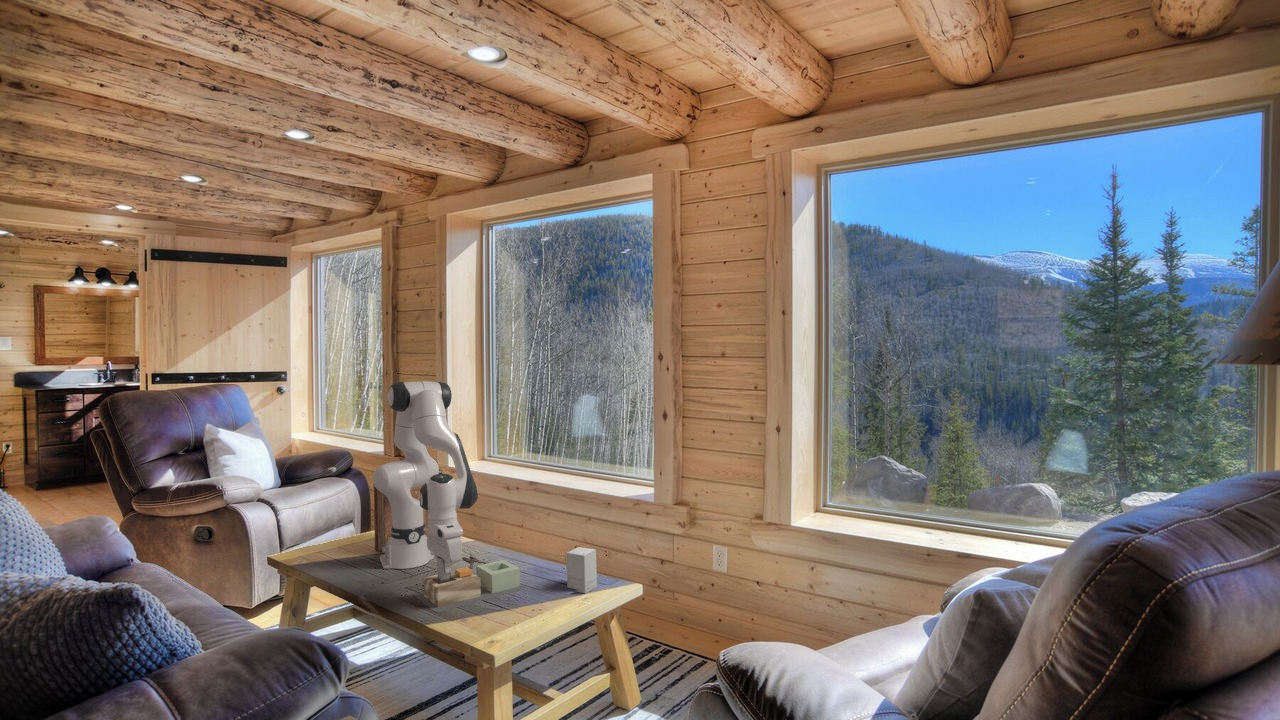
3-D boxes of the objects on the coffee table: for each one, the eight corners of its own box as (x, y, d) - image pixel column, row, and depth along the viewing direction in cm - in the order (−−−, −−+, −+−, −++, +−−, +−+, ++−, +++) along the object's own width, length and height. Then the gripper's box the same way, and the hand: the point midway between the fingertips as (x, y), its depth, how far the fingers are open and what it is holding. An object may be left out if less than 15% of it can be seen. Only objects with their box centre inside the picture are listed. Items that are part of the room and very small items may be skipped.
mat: (414, 597, 219) (413, 594, 219) (501, 576, 238) (501, 573, 238) (436, 615, 204) (436, 612, 204) (528, 591, 223) (527, 588, 223)
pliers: (478, 572, 241) (447, 561, 254) (478, 575, 241) (447, 563, 254) (501, 565, 248) (470, 555, 261) (501, 568, 248) (470, 557, 261)
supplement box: (597, 586, 226) (597, 549, 225) (584, 594, 219) (584, 555, 219) (579, 583, 229) (578, 546, 229) (566, 590, 223) (565, 552, 223)
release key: (455, 586, 219) (455, 569, 219) (467, 583, 222) (466, 566, 222) (460, 589, 216) (460, 572, 216) (472, 586, 219) (472, 569, 219)
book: (385, 555, 264) (383, 479, 264) (374, 550, 271) (372, 476, 270) (444, 541, 282) (442, 469, 282) (433, 537, 289) (431, 467, 288)
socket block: (423, 596, 217) (423, 577, 217) (465, 586, 226) (464, 568, 226) (438, 607, 208) (437, 588, 208) (480, 596, 216) (480, 577, 216)
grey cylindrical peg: (436, 594, 216) (435, 557, 215) (448, 591, 218) (447, 554, 218) (440, 598, 212) (439, 560, 212) (453, 595, 215) (452, 557, 215)
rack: (476, 583, 228) (476, 565, 228) (503, 576, 234) (503, 559, 234) (492, 593, 219) (491, 574, 219) (520, 586, 225) (519, 568, 225)
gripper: (421, 521, 221) (422, 563, 221) (445, 535, 205) (446, 580, 205) (440, 518, 225) (441, 559, 225) (465, 531, 209) (466, 575, 209)
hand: (444, 569), depth 215 cm, fingers closed on grey cylindrical peg, 4 cm apart
